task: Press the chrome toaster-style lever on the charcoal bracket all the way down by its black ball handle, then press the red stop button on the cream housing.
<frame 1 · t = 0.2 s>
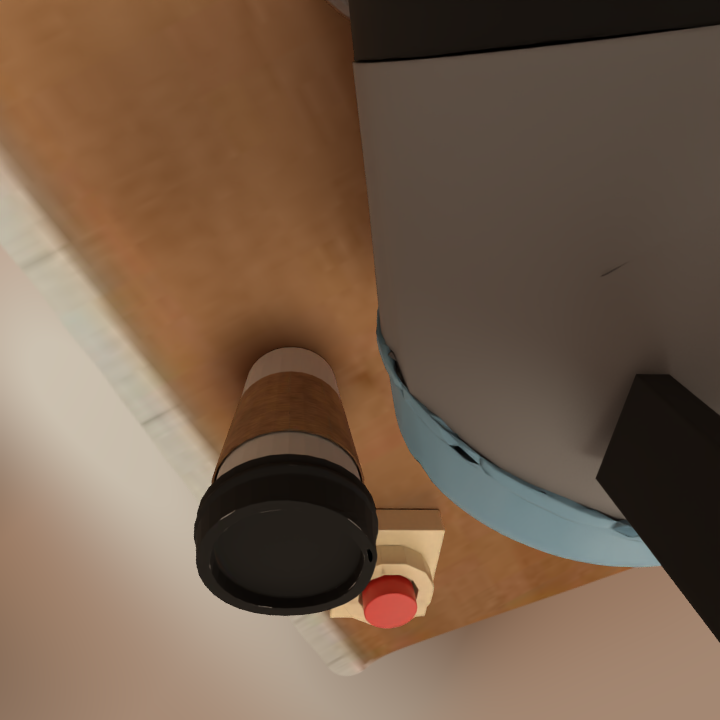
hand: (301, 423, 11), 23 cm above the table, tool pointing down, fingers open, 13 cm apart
coffee cup: (291, 384, 37), on the table
stop button: (389, 601, 42), point 4 cm above the table, slide at 0.1 cm
button housing: (381, 554, 46), on the table
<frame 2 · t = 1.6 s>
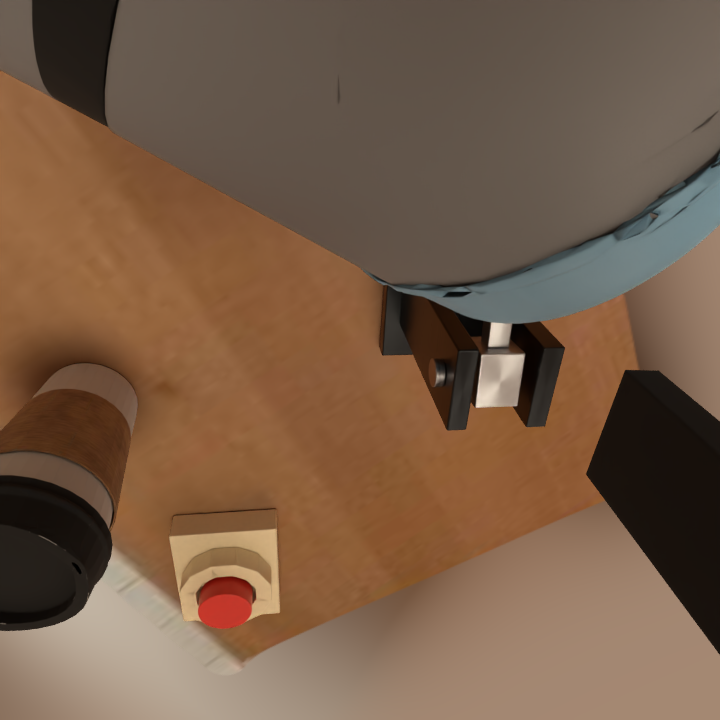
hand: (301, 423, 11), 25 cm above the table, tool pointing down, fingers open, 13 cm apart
coffee cup: (93, 398, 38), on the table
lever bracket: (435, 286, 37), on the table
stop button: (225, 602, 43), point 4 cm above the table, slide at 0.1 cm
press lever: (504, 268, 25), point 10 cm above the table, hinge at -6.7°
button housing: (229, 555, 46), on the table
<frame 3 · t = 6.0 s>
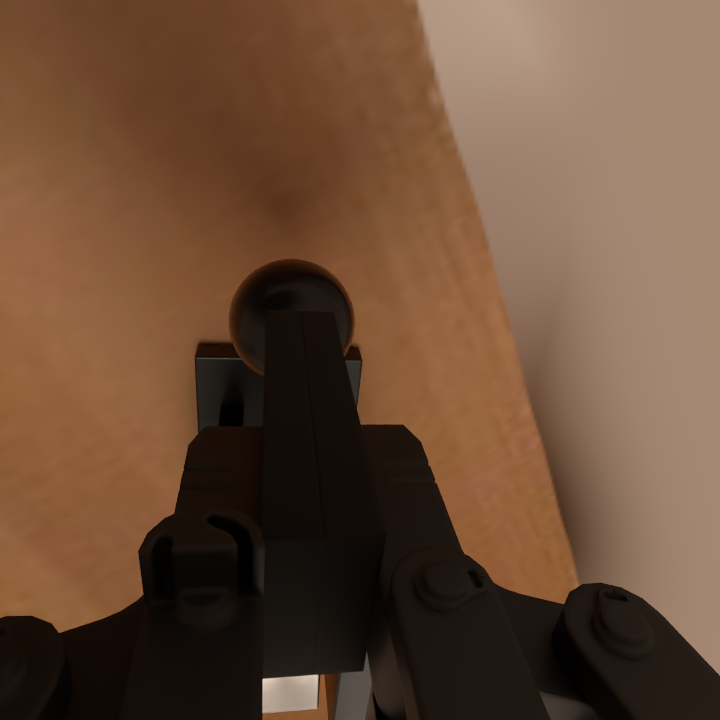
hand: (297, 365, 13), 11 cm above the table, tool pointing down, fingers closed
lever bracket: (277, 428, 26), on the table
press lever: (286, 493, 16), point 10 cm above the table, hinge at -13.2°, touching gripper
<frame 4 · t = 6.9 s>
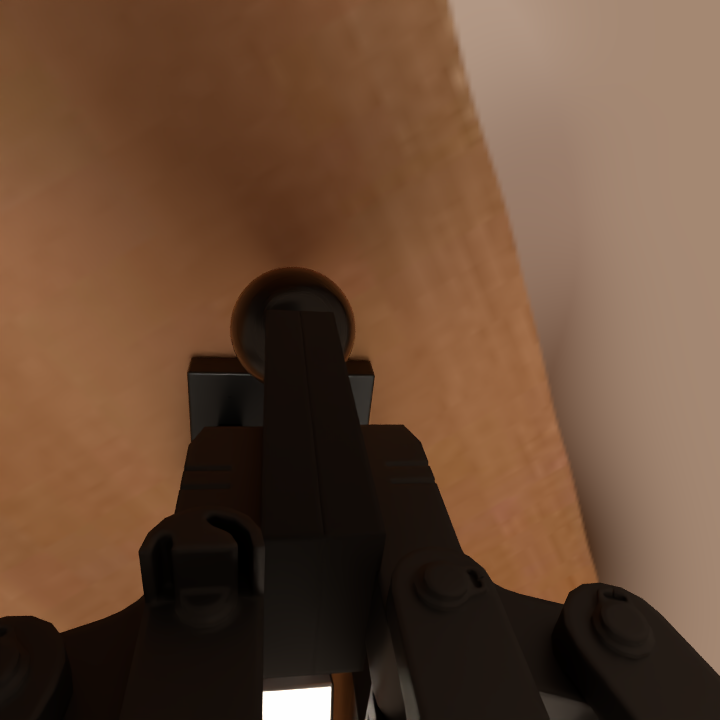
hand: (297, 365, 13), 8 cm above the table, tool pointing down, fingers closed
lever bracket: (279, 449, 24), on the table
press lever: (289, 518, 14), point 9 cm above the table, hinge at -28.2°, touching gripper
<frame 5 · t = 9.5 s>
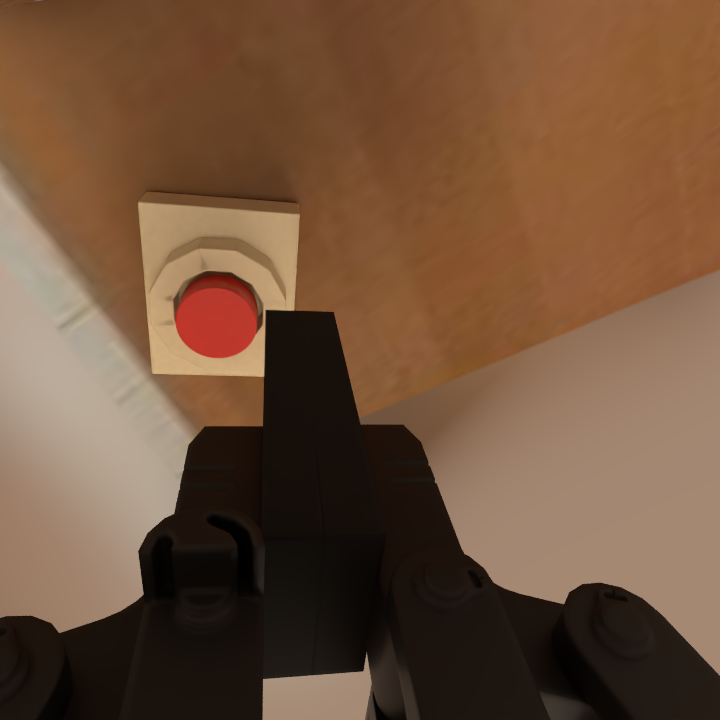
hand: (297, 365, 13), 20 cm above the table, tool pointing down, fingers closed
stop button: (218, 316, 29), point 4 cm above the table, slide at 0.1 cm
button housing: (224, 283, 32), on the table
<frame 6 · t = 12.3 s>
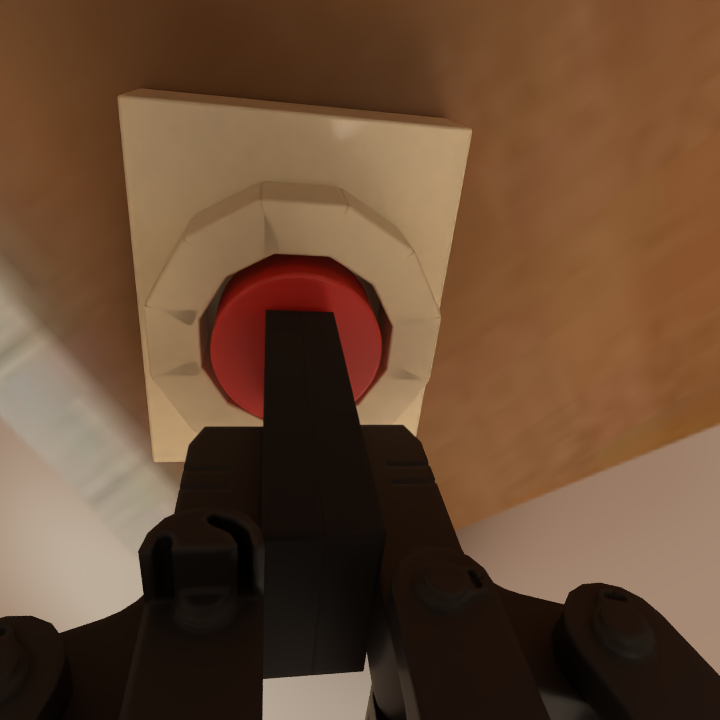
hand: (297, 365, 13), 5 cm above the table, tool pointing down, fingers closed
stop button: (296, 338, 14), point 4 cm above the table, slide at -0.8 cm, touching gripper
button housing: (292, 284, 17), on the table
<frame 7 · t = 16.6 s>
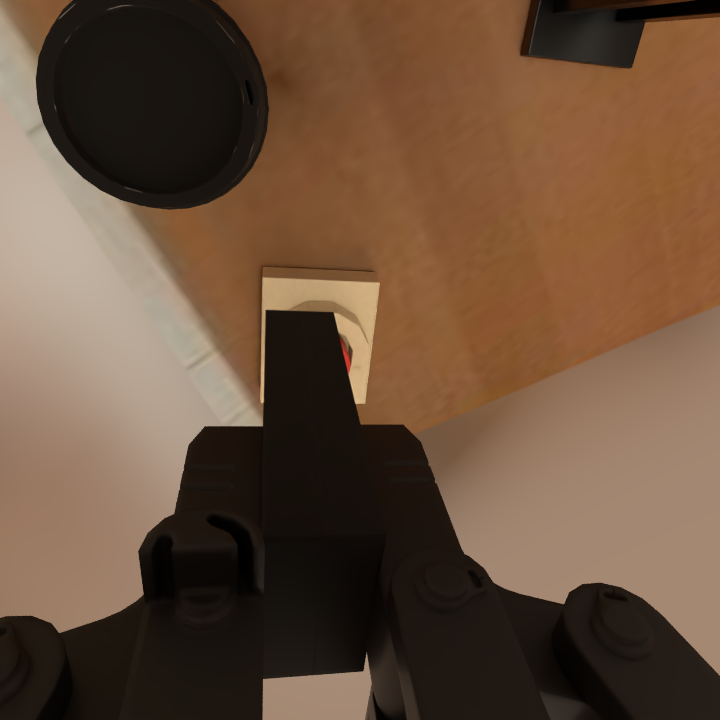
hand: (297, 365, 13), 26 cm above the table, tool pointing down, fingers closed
coffee cup: (197, 85, 33), on the table
stop button: (320, 361, 38), point 4 cm above the table, slide at 0.1 cm
button housing: (315, 332, 42), on the table
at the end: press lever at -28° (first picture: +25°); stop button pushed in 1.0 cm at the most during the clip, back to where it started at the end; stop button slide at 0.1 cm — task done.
